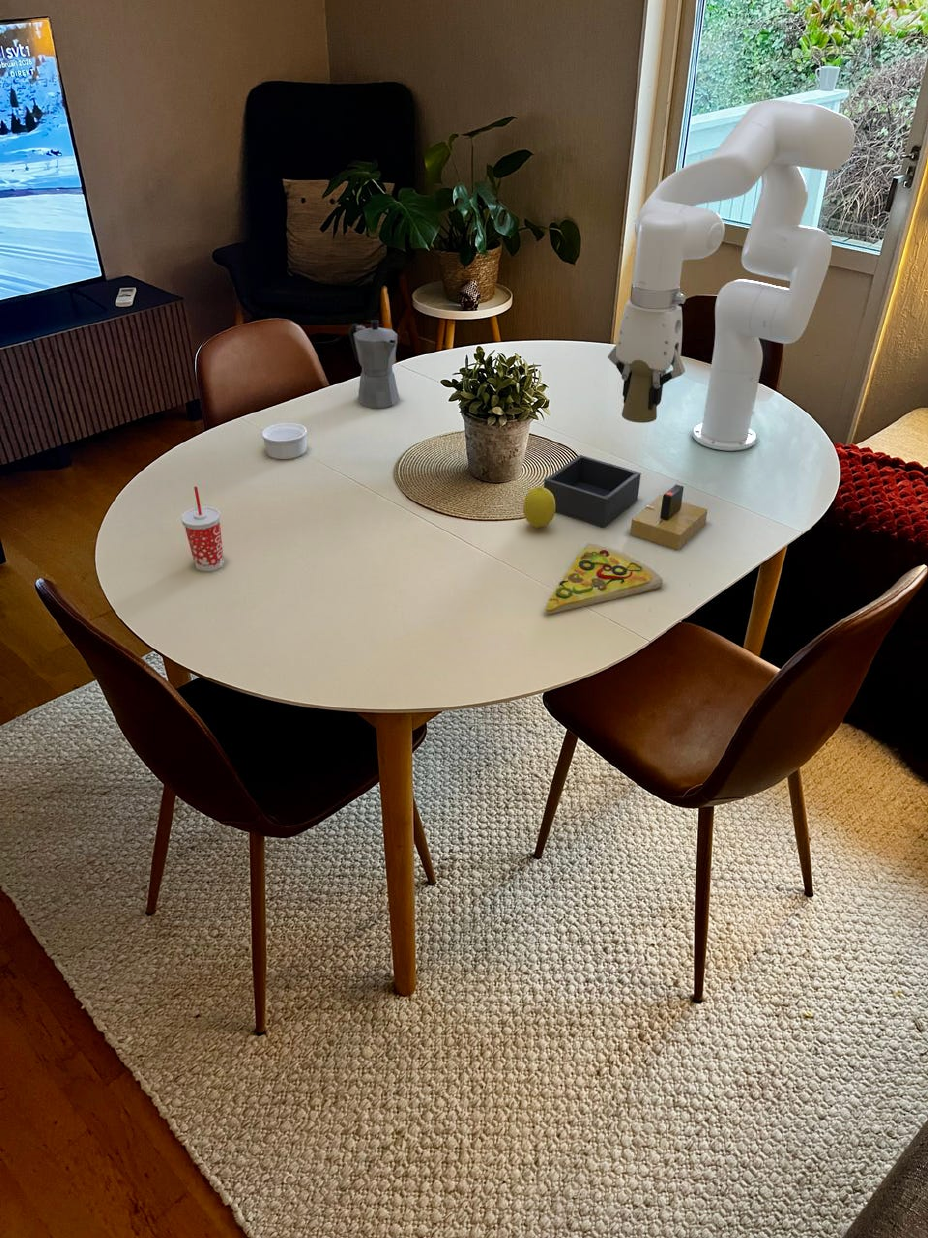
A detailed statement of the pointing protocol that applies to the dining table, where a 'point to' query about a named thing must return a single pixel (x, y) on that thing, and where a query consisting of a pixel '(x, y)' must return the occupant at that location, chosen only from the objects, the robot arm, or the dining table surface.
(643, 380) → the cork
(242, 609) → the dining table surface
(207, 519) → the beverage cup
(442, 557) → the dining table surface
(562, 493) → the sink basin
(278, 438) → the ramekin
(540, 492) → the lemon
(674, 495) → the tap handle
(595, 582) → the pizza slice
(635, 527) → the block
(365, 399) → the coffeepot
